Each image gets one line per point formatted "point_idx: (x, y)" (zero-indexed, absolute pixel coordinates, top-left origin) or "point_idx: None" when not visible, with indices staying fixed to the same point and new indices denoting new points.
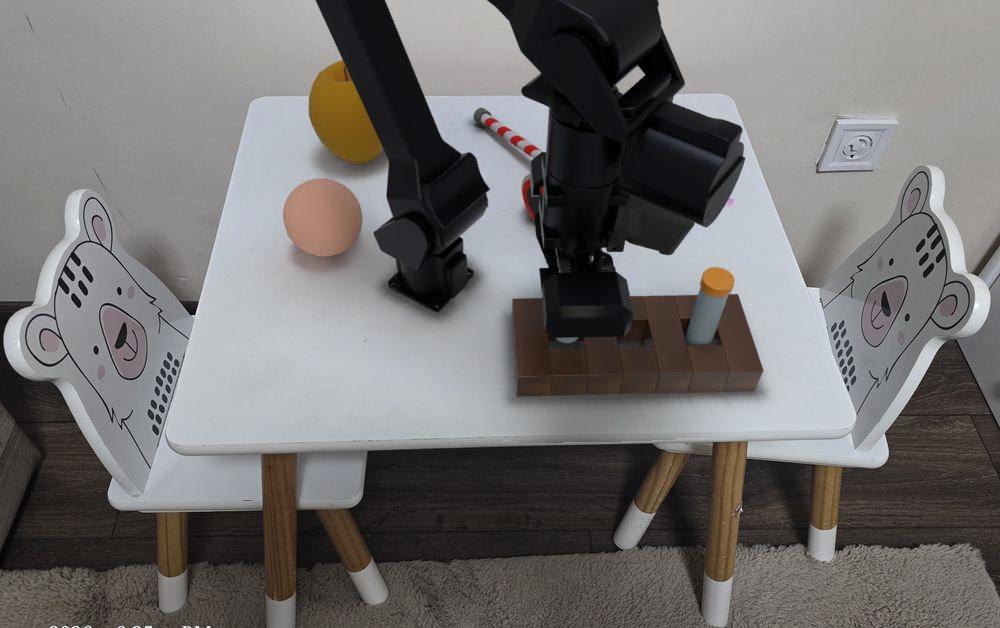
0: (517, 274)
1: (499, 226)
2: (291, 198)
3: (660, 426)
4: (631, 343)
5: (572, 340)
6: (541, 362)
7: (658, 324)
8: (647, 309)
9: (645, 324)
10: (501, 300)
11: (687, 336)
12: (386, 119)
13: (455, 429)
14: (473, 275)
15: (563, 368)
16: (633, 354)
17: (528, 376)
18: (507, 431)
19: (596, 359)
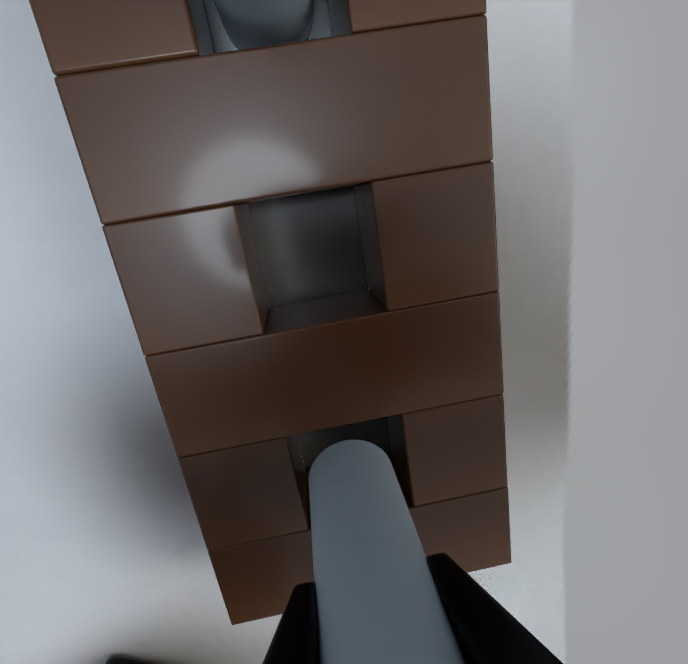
0: (72, 567)
1: None
2: None
3: (558, 152)
4: (267, 239)
5: (389, 461)
6: (462, 519)
7: (253, 158)
8: (178, 205)
9: (239, 208)
10: (182, 582)
11: (277, 27)
12: None
13: (552, 587)
14: (117, 660)
15: (481, 463)
16: (414, 258)
17: (509, 540)
18: (560, 502)
19: (443, 377)
